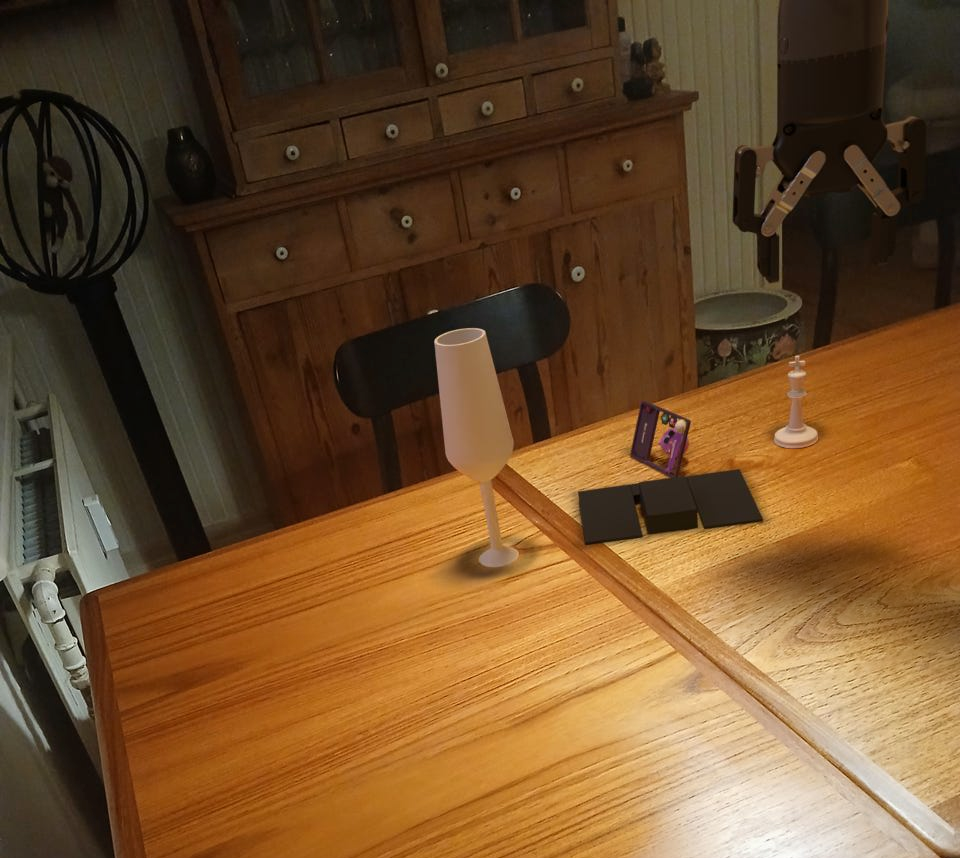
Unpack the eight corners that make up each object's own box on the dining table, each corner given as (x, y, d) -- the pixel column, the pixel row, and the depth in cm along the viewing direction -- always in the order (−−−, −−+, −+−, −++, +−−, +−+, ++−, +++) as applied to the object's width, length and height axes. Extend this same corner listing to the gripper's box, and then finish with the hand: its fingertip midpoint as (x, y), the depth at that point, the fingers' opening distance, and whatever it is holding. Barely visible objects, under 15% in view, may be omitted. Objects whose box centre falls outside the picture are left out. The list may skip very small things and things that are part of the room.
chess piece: (820, 446, 113) (822, 361, 107) (775, 450, 114) (775, 366, 108) (815, 429, 117) (818, 346, 111) (772, 432, 118) (772, 351, 112)
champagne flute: (472, 550, 106) (429, 330, 93) (534, 545, 105) (499, 320, 92) (464, 583, 101) (418, 353, 87) (529, 577, 99) (492, 344, 86)
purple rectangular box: (636, 400, 116) (683, 420, 109) (671, 401, 118) (719, 421, 111) (624, 455, 118) (669, 478, 112) (659, 456, 121) (705, 478, 114)
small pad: (686, 500, 107) (685, 475, 106) (698, 535, 101) (697, 509, 99) (640, 506, 108) (638, 481, 106) (649, 541, 101) (647, 515, 100)
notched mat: (740, 478, 110) (739, 468, 109) (763, 529, 100) (763, 518, 99) (579, 500, 112) (577, 491, 111) (586, 552, 102) (584, 542, 101)
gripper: (914, 23, 74) (899, 247, 83) (722, 59, 76) (728, 274, 85) (951, 28, 68) (930, 269, 77) (742, 67, 69) (745, 298, 78)
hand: (824, 272), depth 81 cm, fingers open, 8 cm apart
